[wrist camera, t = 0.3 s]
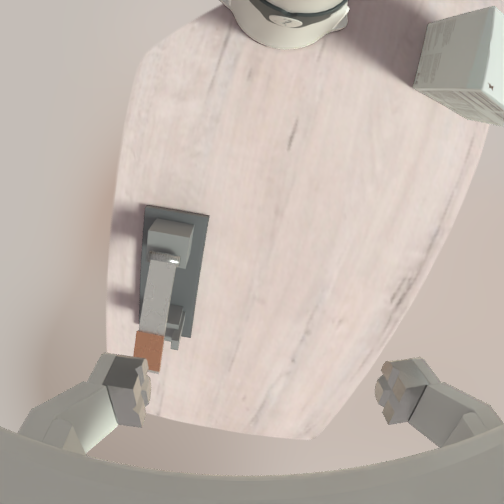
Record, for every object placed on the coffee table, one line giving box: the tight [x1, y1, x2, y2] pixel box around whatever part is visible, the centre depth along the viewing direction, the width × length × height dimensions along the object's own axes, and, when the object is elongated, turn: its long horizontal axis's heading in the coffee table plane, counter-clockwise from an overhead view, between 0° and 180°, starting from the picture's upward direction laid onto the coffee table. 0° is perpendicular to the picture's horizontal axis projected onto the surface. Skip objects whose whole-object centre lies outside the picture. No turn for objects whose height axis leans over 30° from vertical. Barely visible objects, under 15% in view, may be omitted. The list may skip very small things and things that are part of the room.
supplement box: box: [413, 6, 504, 127], centre depth 31 cm, size 13×13×18 cm
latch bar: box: [133, 250, 181, 374], centre depth 42 cm, size 17×4×2 cm
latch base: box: [139, 205, 209, 350], centre depth 49 cm, size 24×10×9 cm, turn 167°
